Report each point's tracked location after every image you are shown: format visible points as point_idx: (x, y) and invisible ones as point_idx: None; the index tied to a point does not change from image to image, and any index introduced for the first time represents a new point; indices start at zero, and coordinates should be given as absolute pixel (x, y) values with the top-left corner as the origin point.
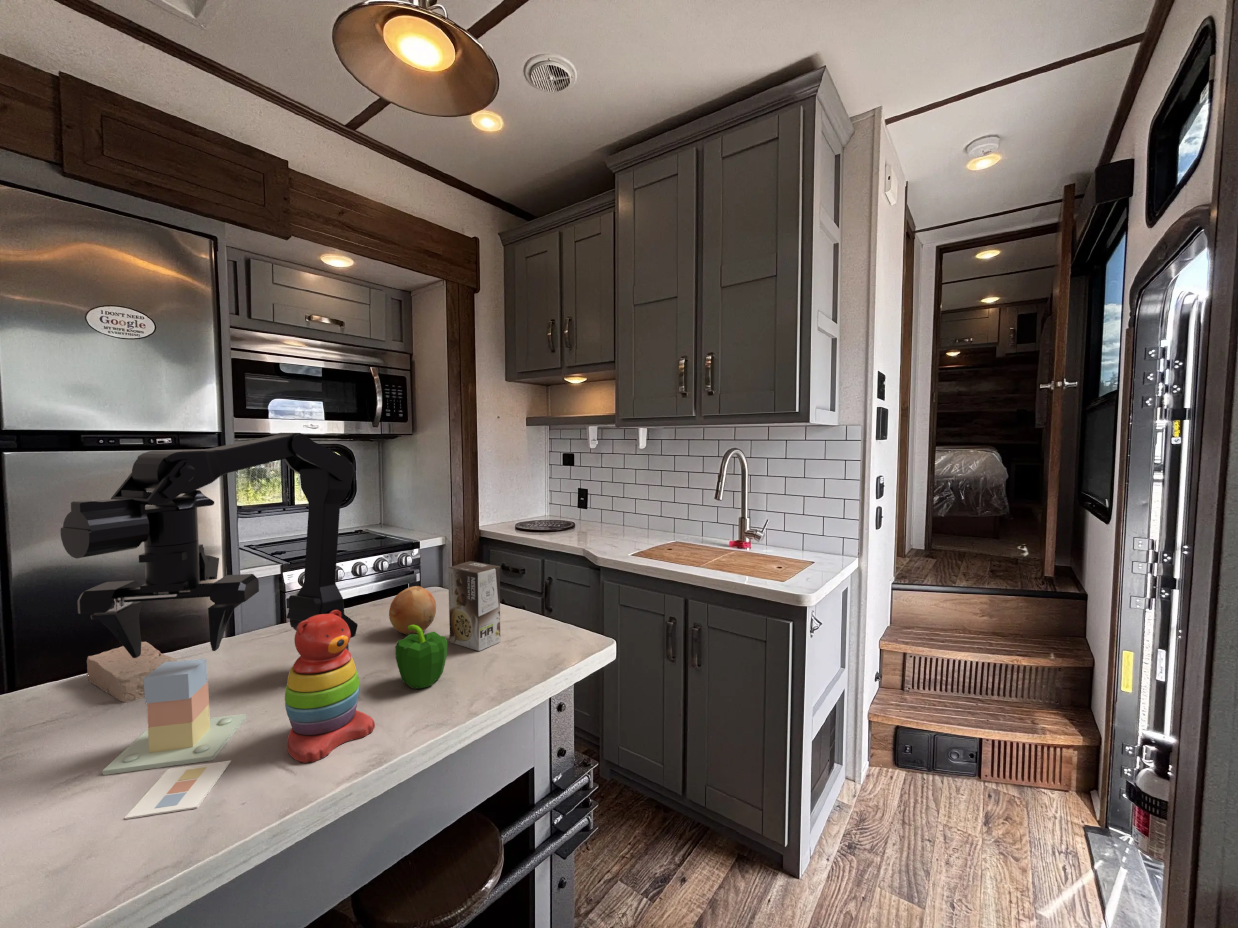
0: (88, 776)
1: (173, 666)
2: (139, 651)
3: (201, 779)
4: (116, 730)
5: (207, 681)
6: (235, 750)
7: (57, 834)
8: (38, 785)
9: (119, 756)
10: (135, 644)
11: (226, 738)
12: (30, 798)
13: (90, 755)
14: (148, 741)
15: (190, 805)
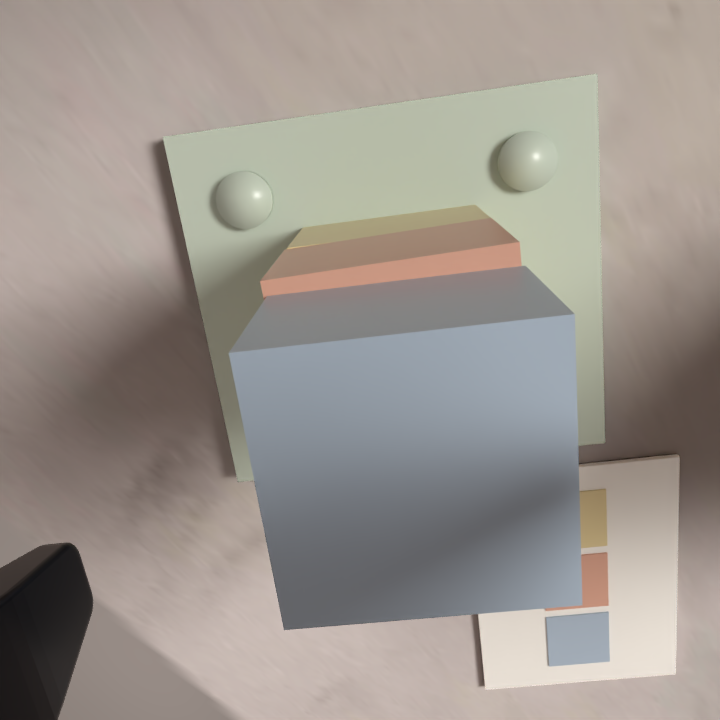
0: (195, 472)
1: (375, 459)
2: (58, 582)
3: (621, 552)
4: (3, 131)
5: (518, 248)
6: (661, 377)
7: (341, 712)
8: (66, 499)
9: (225, 397)
10: (22, 714)
11: (601, 315)
12: (110, 561)
13: (76, 336)
14: (261, 297)
15: (651, 665)
